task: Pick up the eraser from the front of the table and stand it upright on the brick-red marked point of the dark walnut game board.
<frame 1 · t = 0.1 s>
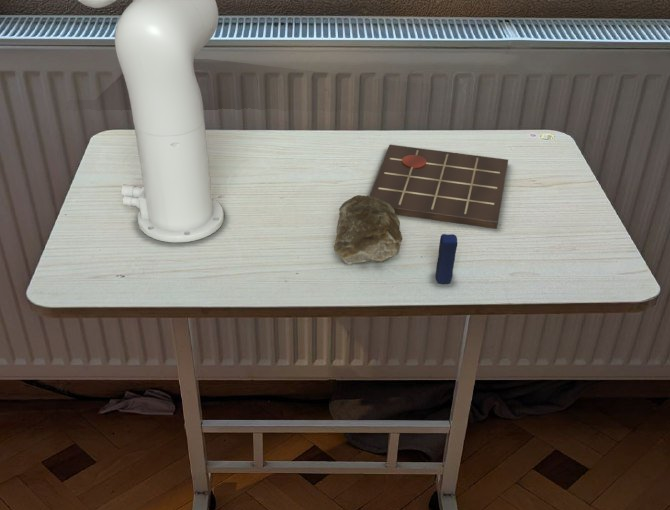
stone: (365, 248, 120), on the table
eraser: (443, 281, 114), on the table
board: (439, 187, 133), on the table
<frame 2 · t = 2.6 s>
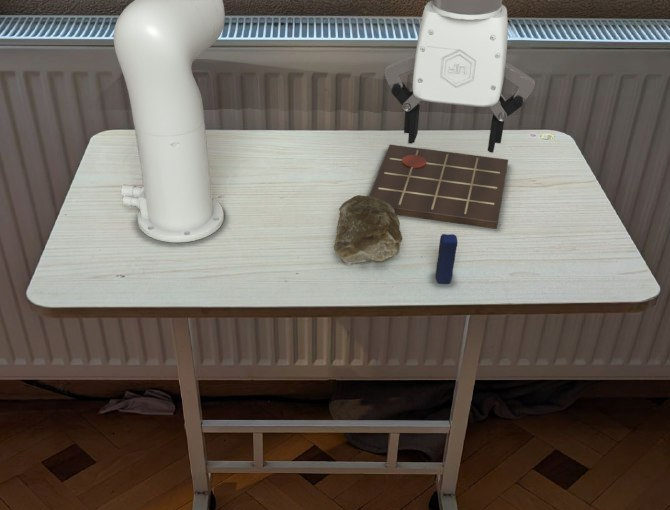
hand: (451, 143, 101), 20 cm above the table, tool pointing down, fingers open, 9 cm apart
nothing on the table moved.
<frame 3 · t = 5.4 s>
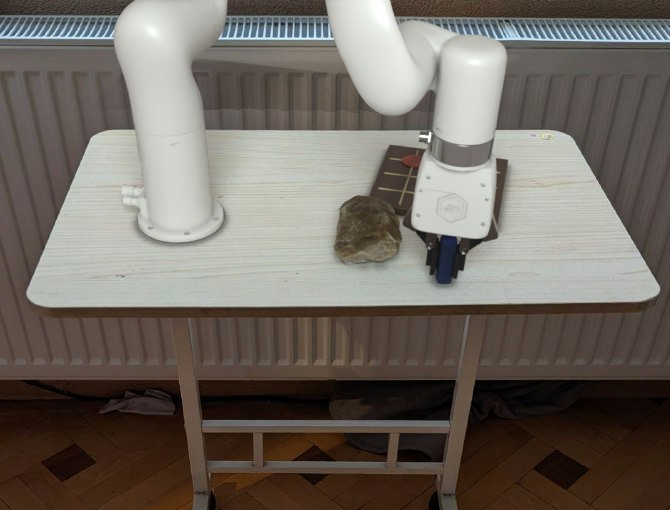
hand: (444, 270, 113), 2 cm above the table, tool pointing down, fingers closed on eraser, 2 cm apart
eraser: (443, 281, 114), on the table, touching gripper
everything else where it was.
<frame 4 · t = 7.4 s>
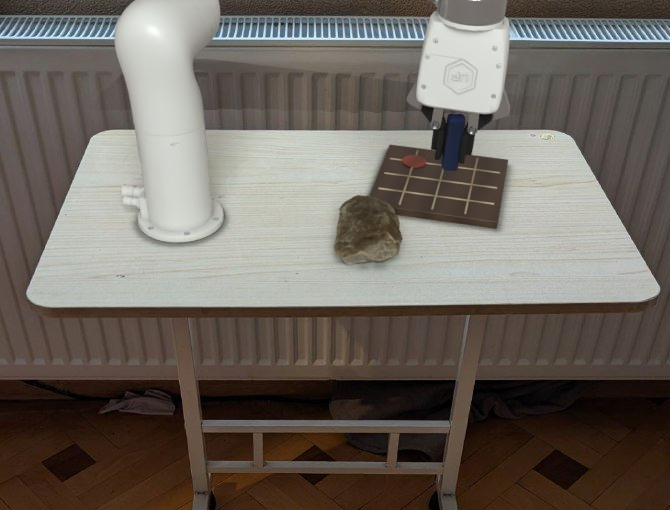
hand: (450, 155, 106), 16 cm above the table, tool pointing down, fingers closed on eraser, 2 cm apart
eraser: (449, 168, 107), point 15 cm above the table, touching gripper
everything else where it was.
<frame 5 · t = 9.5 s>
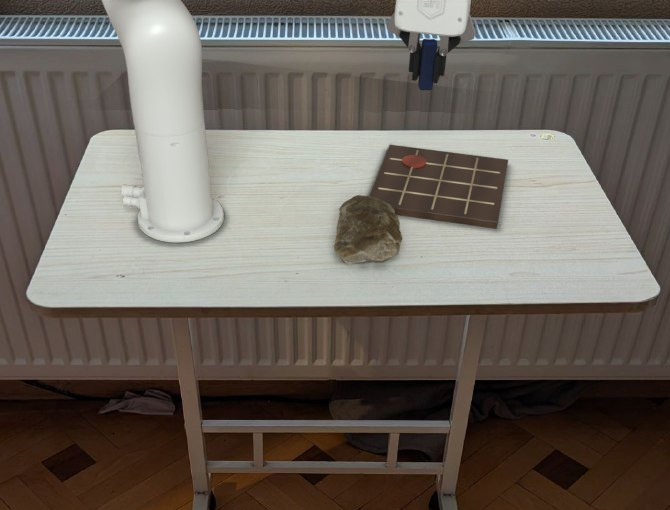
hand: (426, 77, 123), 17 cm above the table, tool pointing down, fingers closed on eraser, 2 cm apart
eraser: (425, 89, 124), point 15 cm above the table, touching gripper
everything else where it was.
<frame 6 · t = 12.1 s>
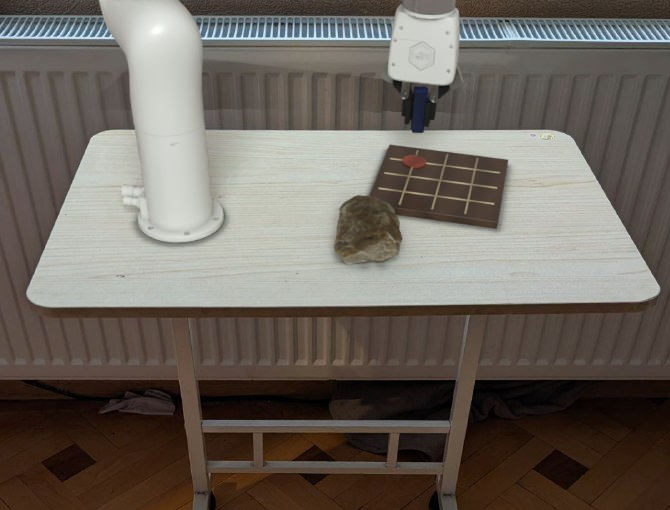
hand: (417, 121, 131), 8 cm above the table, tool pointing down, fingers closed on eraser, 2 cm apart
eraser: (417, 131, 132), point 6 cm above the table, touching gripper
everything else where it was.
when the fingers open (3 cm above the table, at t = 13.8 s): eraser stays where it is, resting on board.
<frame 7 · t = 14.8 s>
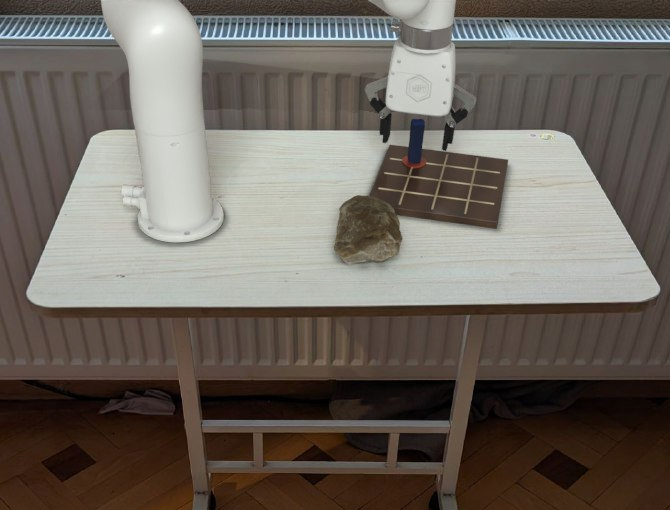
hand: (415, 143, 134), 4 cm above the table, tool pointing down, fingers open, 9 cm apart
eraser: (414, 161, 136), point 1 cm above the table, touching board
everything else where it was.
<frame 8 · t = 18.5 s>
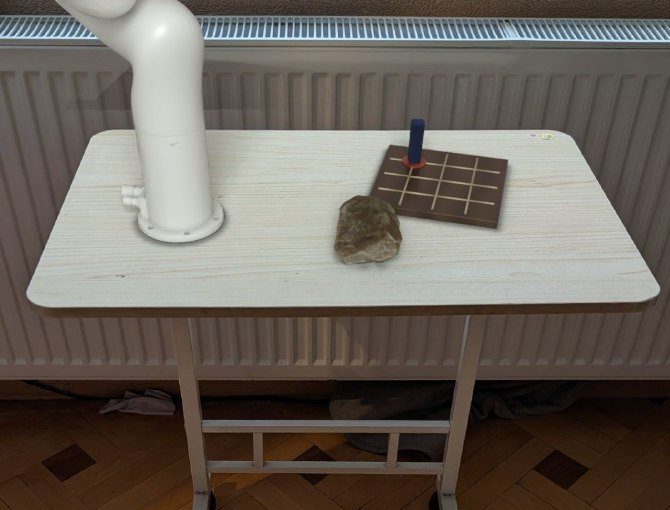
nothing on the table moved.
at the end: eraser 0.0 cm from the target spot on the board, point 1.2 cm above the board's base; eraser tilted 0°; the gripper is holding nothing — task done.
